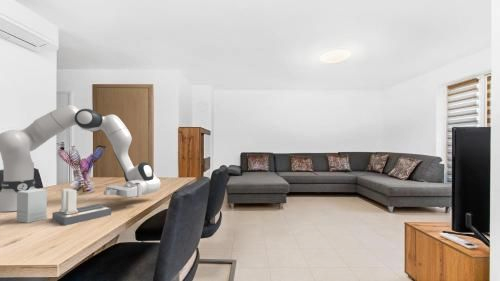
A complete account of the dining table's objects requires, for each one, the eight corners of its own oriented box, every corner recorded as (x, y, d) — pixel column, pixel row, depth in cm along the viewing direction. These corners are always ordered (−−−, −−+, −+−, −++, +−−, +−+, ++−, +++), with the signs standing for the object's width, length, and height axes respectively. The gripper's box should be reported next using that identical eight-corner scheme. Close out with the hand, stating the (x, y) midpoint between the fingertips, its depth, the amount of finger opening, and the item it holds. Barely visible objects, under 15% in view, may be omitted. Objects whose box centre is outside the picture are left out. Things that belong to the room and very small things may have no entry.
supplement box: (47, 218, 105) (47, 189, 106) (26, 223, 98) (27, 192, 99) (36, 216, 108) (36, 188, 108) (15, 221, 101) (16, 191, 101)
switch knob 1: (59, 211, 104) (60, 189, 104) (70, 209, 107) (70, 188, 107) (61, 212, 103) (62, 190, 103) (72, 210, 106) (73, 188, 106)
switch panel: (52, 219, 103) (52, 211, 103) (97, 210, 118) (97, 203, 118) (64, 225, 96) (64, 217, 96) (110, 214, 111) (111, 207, 111)
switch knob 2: (64, 213, 101) (64, 191, 101) (75, 211, 105) (75, 189, 105) (66, 214, 100) (67, 191, 100) (77, 212, 103) (78, 190, 103)
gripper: (122, 181, 135) (95, 184, 124) (142, 184, 124) (115, 189, 112) (121, 192, 135) (95, 197, 124) (142, 196, 124) (115, 202, 112)
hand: (104, 193), depth 118 cm, fingers closed
